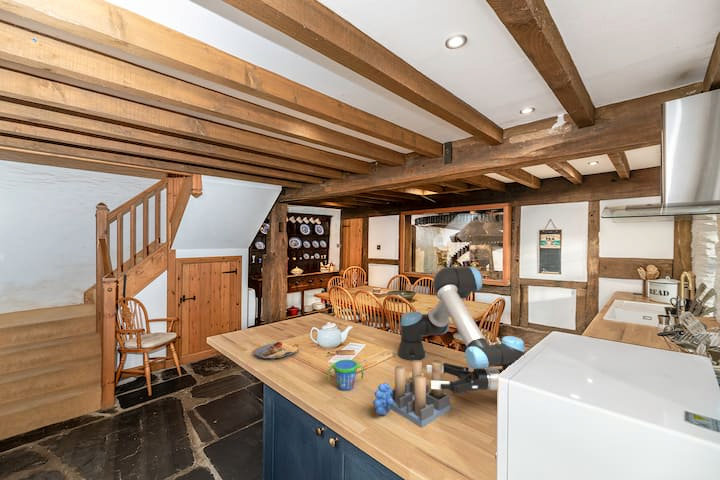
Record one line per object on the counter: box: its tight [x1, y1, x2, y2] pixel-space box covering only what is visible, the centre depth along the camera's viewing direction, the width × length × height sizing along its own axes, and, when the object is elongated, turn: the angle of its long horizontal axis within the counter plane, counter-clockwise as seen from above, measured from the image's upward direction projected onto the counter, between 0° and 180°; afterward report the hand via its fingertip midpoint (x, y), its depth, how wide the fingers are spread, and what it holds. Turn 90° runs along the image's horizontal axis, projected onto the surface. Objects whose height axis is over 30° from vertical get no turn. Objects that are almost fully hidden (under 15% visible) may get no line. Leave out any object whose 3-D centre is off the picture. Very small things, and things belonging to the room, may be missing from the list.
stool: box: [390, 360, 452, 428], centre depth 116 cm, size 17×17×15 cm
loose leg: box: [431, 359, 444, 400], centre depth 115 cm, size 4×4×16 cm
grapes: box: [372, 382, 394, 417], centre depth 111 cm, size 12×7×12 cm, turn 145°
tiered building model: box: [409, 371, 425, 382], centre depth 133 cm, size 10×9×6 cm
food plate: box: [253, 341, 299, 360], centre depth 173 cm, size 25×23×4 cm
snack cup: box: [327, 359, 364, 391], centre depth 133 cm, size 16×10×10 cm
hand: (428, 376), depth 116 cm, fingers open, 13 cm apart
